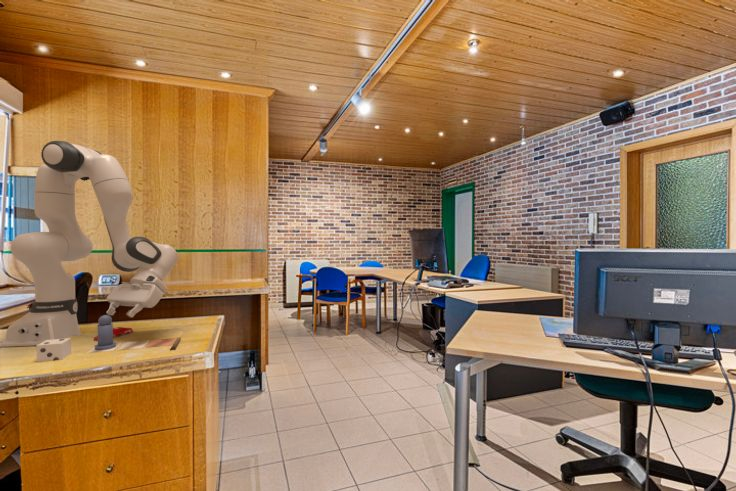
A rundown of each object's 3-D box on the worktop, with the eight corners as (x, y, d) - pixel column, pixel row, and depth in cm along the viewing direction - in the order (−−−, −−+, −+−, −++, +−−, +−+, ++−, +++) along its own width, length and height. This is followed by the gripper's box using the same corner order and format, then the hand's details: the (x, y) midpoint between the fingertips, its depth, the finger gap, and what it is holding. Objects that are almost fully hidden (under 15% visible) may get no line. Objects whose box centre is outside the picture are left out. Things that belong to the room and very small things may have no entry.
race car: (100, 345, 123) (100, 334, 123) (89, 344, 124) (89, 333, 124) (136, 335, 135) (135, 325, 135) (125, 334, 137) (125, 324, 137)
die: (36, 366, 102) (36, 345, 102) (47, 359, 108) (46, 339, 108) (62, 363, 104) (62, 343, 104) (71, 357, 110) (71, 337, 110)
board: (79, 358, 108) (79, 354, 108) (93, 347, 120) (93, 344, 120) (175, 349, 117) (175, 346, 117) (180, 339, 129) (180, 336, 129)
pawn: (91, 351, 112) (91, 317, 112) (98, 346, 117) (97, 314, 117) (112, 349, 114) (112, 316, 114) (118, 344, 119) (117, 312, 119)
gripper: (118, 276, 130) (90, 308, 121) (160, 278, 123) (134, 311, 114) (130, 287, 134) (104, 318, 125) (171, 289, 127) (147, 322, 118)
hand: (118, 315), depth 120 cm, fingers open, 8 cm apart
